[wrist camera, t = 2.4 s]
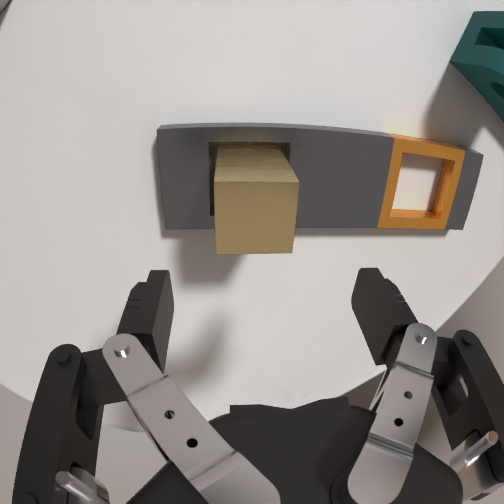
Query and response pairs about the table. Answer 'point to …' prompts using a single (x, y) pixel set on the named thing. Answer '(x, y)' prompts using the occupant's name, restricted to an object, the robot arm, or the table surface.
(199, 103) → the table surface
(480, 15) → the bracket
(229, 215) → the block
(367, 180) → the rail
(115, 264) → the table surface
